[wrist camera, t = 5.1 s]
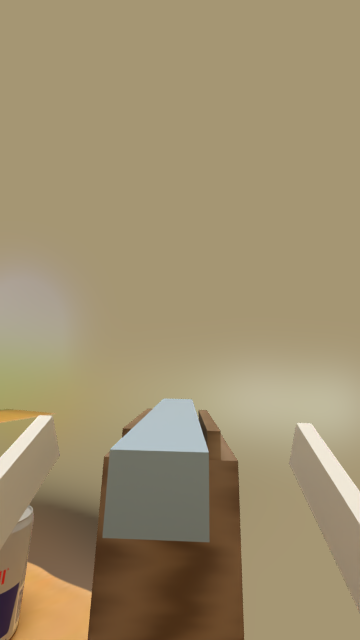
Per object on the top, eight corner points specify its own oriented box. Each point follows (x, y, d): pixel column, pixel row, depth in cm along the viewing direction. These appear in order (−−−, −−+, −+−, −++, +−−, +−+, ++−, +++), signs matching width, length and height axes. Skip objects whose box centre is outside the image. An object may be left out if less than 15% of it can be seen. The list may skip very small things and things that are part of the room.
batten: (102, 537, 9) (109, 449, 9) (162, 421, 32) (163, 398, 33) (209, 542, 9) (208, 452, 9) (191, 422, 32) (192, 399, 33)
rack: (42, 993, 11) (98, 429, 18) (117, 670, 24) (134, 407, 30) (269, 1015, 11) (245, 433, 17) (224, 676, 24) (219, 409, 30)
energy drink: (-56, 659, 25) (-29, 525, 28) (-10, 611, 30) (8, 502, 33) (-11, 668, 24) (12, 529, 27) (28, 617, 29) (44, 505, 32)
